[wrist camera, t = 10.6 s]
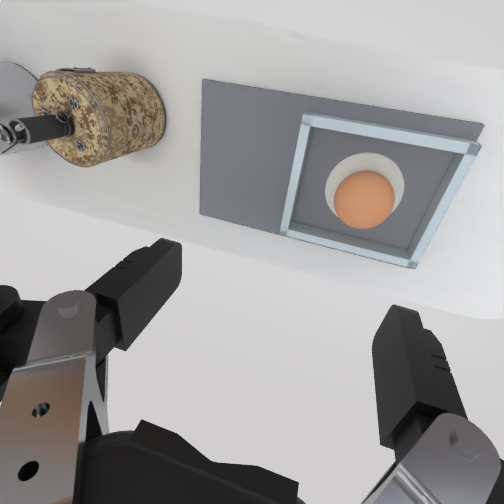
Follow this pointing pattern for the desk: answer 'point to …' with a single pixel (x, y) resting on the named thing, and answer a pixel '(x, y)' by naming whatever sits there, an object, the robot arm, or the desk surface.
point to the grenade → (90, 115)
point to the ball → (364, 199)
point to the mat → (309, 160)
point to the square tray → (386, 168)
